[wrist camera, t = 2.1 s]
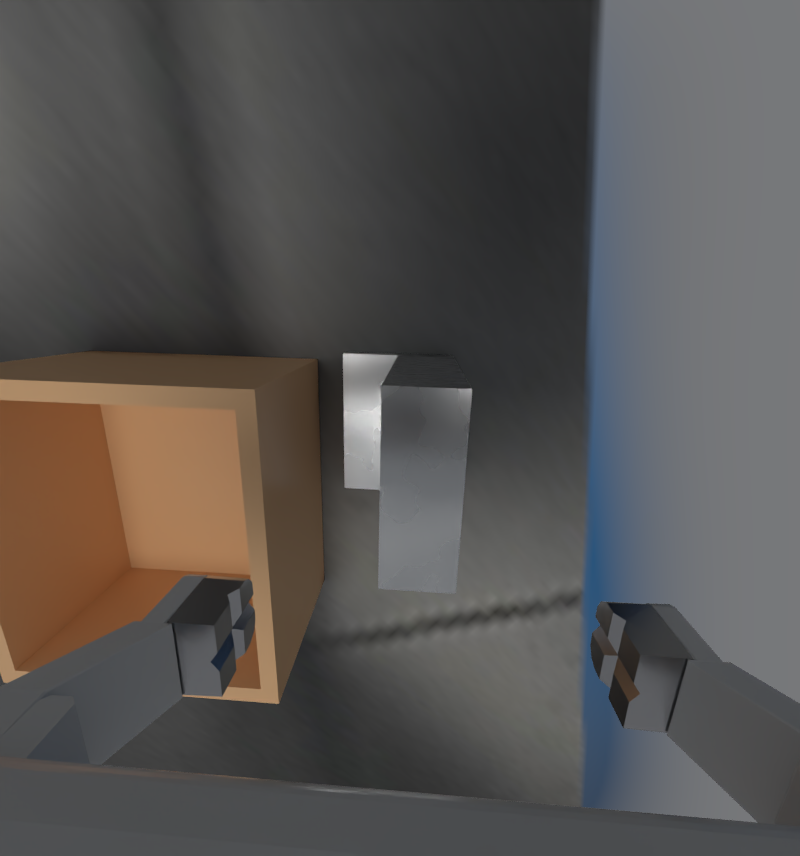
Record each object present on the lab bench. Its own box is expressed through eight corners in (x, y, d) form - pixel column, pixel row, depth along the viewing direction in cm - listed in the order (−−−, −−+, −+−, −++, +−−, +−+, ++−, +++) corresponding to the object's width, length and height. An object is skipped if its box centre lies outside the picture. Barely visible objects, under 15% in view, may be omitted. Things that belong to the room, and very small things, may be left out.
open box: (90, 350, 24) (-98, 375, 15) (317, 359, 23) (254, 389, 15) (131, 567, 28) (3, 682, 20) (324, 579, 28) (278, 703, 19)
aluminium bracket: (443, 484, 25) (455, 593, 16) (348, 479, 25) (302, 583, 16) (452, 354, 23) (472, 388, 13) (347, 351, 23) (292, 382, 13)
